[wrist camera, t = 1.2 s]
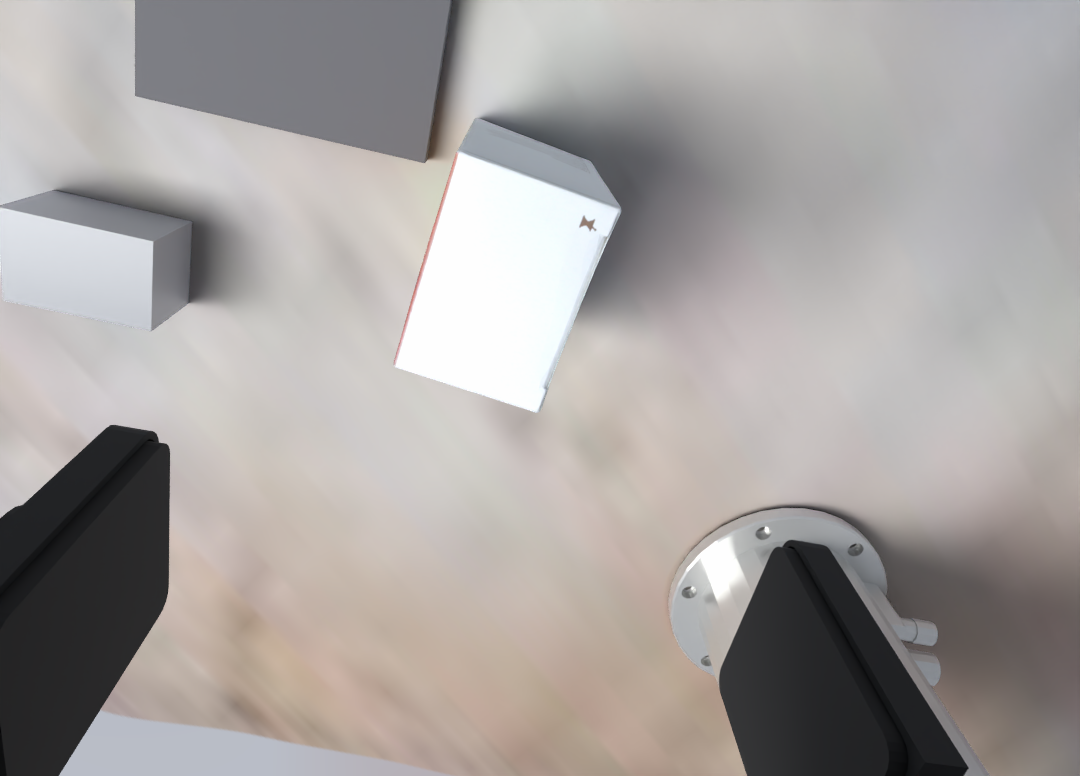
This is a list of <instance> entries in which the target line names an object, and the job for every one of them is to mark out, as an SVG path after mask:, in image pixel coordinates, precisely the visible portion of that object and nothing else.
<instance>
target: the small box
mask: <svg viewBox="0 0 1080 776" xmlns="http://www.w3.org/2000/svg"><path fill="white" fill-rule="evenodd" d="M620 214H621V207H620V205H619V204H618V203H617V201H616V199H615V198H614V196H613V195H612V193H611V192H610V190H609V189H608V187H607V186H606V184H605V183H604V181H603V180H602V178H601V177H600V175H599V173H598V172H597V170H596V169H595V167H594V165H593V164H592V162H591V161H590V160H587V159H584V158H581V157H578V156H576V155H573V154H570V153H568V152H565V151H563V150H560V149H558V148H555V147H553V146H550V145H547V144H545V143H542V142H539V141H537V140H534V139H531V138H529V137H526V136H523V135H521V134H518V133H516V132H513V131H511V130H508V129H505V128H503V127H500V126H497V125H495V124H492V123H490V122H487V121H484V120H482V119H479V118H476V119H474V121H473V123H472V125H471V127H470V128H469V130H468V132H467V134H466V136H465V138H464V140H463V142H462V144H461V146H460V147H459V149H458V151H457V152H456V155H455V159H454V162H453V165H452V169H451V172H450V175H449V178H448V182H447V185H446V188H445V191H444V194H443V198H442V201H441V204H440V207H439V211H438V214H437V217H436V220H435V223H434V226H433V229H432V233H431V236H430V239H429V242H428V246H427V249H426V252H425V256H424V259H423V262H422V266H421V269H420V272H419V276H418V279H417V283H416V286H415V290H414V293H413V297H412V300H411V304H410V307H409V311H408V314H407V318H406V321H405V325H404V329H403V332H402V336H401V339H400V343H399V346H398V350H397V353H396V357H395V360H394V364H393V365H394V367H396V368H399V369H402V370H405V371H408V372H411V373H414V374H417V375H421V376H424V377H427V378H430V379H433V380H436V381H439V382H442V383H445V384H448V385H452V386H455V387H458V388H461V389H464V390H467V391H470V392H473V393H476V394H480V395H483V396H486V397H489V398H492V399H495V400H498V401H501V402H504V403H508V404H511V405H514V406H517V407H520V408H523V409H526V410H529V411H532V412H536V413H537V412H539V411H540V410H541V408H542V406H543V403H544V399H545V396H546V393H547V390H548V388H549V385H550V382H551V379H552V376H553V374H554V371H555V368H556V366H557V363H558V361H559V358H560V356H561V353H562V351H563V348H564V346H565V343H566V341H567V338H568V336H569V333H570V331H571V328H572V326H573V323H574V321H575V318H576V316H577V313H578V311H579V308H580V306H581V303H582V301H583V299H584V296H585V294H586V291H587V289H588V286H589V284H590V282H591V279H592V277H593V274H594V272H595V269H596V267H597V265H598V262H599V260H600V258H601V255H602V253H603V251H604V248H605V246H606V244H607V242H608V240H609V238H610V236H611V233H612V231H613V229H614V227H615V225H616V223H617V220H618V218H619V216H620Z"/></svg>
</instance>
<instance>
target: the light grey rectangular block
mask: <svg viewBox="0 0 1080 776" xmlns="http://www.w3.org/2000/svg"><path fill="white" fill-rule="evenodd" d="M191 241H192V221H188V220H184V219H179V218H175V217H170V216H166V215H162V214H157V213H153V212H148V211H144V210H139V209H135V208H131V207H126V206H122V205H117V204H113V203H109V202H104V201H100V200H95V199H91V198H86V197H82V196H78V195H73V194H69V193H64V192H60V191H56V190H52V191H49V192H45V193H42V194H38V195H35V196H32V197H28V198H25V199H21V200H18V201H14V202H11V203H7V204H4V205H1V206H0V266H1V281H2V296H3V301H7V302H12V303H17V304H22V305H27V306H31V307H36V308H41V309H46V310H51V311H56V312H60V313H65V314H70V315H75V316H80V317H84V318H89V319H94V320H99V321H104V322H109V323H113V324H118V325H123V326H128V327H133V328H138V329H142V330H147V331H152V330H154V329H155V328H156V327H158V326H159V325H160V324H162V323H163V322H164V321H166V320H167V319H168V318H170V317H171V316H172V315H174V314H175V313H176V312H178V311H179V310H180V309H182V308H183V307H184V306H186V305H187V304H188V303H189V284H190V263H191Z"/></svg>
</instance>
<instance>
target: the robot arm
mask: <svg viewBox="0 0 1080 776" xmlns="http://www.w3.org/2000/svg"><path fill="white" fill-rule="evenodd" d="M169 497H170V449H169V446H168V445H167V444H164V443H159V441H158V437H157V434H156V433H155V432H153V431H147V430H141V429H135V428H130V427H124V426H118V425H110V426H109V427H107V428H106V429H105V430H104V431H103V432H102V433H100V434H99V435H98V436H97V437H96V438H95V439H94V440H93V441H92V442H91V443H90V444H89V445H87V446H86V447H85V448H84V449H83V450H82V451H81V452H80V453H79V454H78V455H77V456H76V457H74V458H73V459H72V460H71V461H70V462H69V463H68V464H67V465H66V466H65V467H64V468H62V469H61V470H60V471H59V472H58V473H57V474H56V475H55V476H54V477H53V478H52V479H51V480H49V481H48V482H47V483H46V484H45V485H44V486H43V487H42V488H41V489H40V490H39V491H38V492H36V493H35V494H34V495H33V496H32V497H31V498H30V499H29V500H28V501H27V502H26V503H25V504H23V505H21V506H17V507H15V508H13V509H12V510H10V511H9V512H7V513H6V514H5V515H4V516H3V517H1V518H0V776H59V774H60V773H61V771H62V770H63V768H64V766H65V765H66V763H67V762H68V760H69V758H70V757H71V755H72V754H73V752H74V750H75V749H76V747H77V746H78V744H79V742H80V741H81V739H82V737H83V736H84V735H85V733H86V731H87V730H88V728H89V727H90V725H91V723H92V722H93V720H94V719H95V717H96V715H97V714H98V712H99V711H100V709H101V708H102V706H103V704H104V703H105V701H106V700H107V698H108V696H109V695H110V693H111V692H112V690H113V688H114V687H115V685H116V684H117V682H118V681H119V679H120V677H121V676H122V674H123V673H124V671H125V669H126V668H127V666H128V665H129V663H130V661H131V660H132V658H133V657H134V655H135V653H136V652H137V650H138V649H139V647H140V646H141V644H142V642H143V641H144V639H145V638H146V636H147V634H148V633H149V631H150V630H151V628H152V626H153V625H154V623H155V622H156V620H157V619H158V617H159V615H160V614H161V612H162V610H163V607H164V605H165V602H166V599H167V594H168V587H169ZM886 596H887V579H886V571H885V569H884V566H883V564H882V561H881V559H880V556H879V555H878V554H877V552H876V551H875V549H874V548H873V546H872V545H871V544H870V542H869V541H868V540H867V539H866V538H865V537H864V535H863V534H862V533H861V532H860V531H859V530H858V529H857V528H855V527H854V526H852V525H850V524H849V523H847V522H846V521H844V520H843V519H841V518H838V517H836V516H833V515H830V514H828V513H825V512H821V511H816V510H810V509H805V508H780V509H773V510H766V511H760V512H757V513H754V514H750V515H747V516H744V517H741V518H738V519H736V520H734V521H732V522H730V523H728V524H726V525H724V526H722V527H720V528H719V529H717V530H716V531H714V532H713V533H711V534H710V535H709V536H707V537H706V538H704V539H703V540H702V541H701V542H700V543H699V544H698V545H697V546H696V547H695V548H694V549H693V550H692V551H691V552H690V553H689V554H688V555H687V557H686V558H685V560H684V561H683V562H682V564H681V565H680V567H679V568H678V570H677V573H676V575H675V577H674V579H673V582H672V584H671V589H670V594H669V599H668V608H669V618H670V622H671V626H672V630H673V634H674V636H675V638H676V640H677V643H678V645H679V647H680V648H681V650H682V651H683V652H684V654H685V655H686V656H687V657H688V659H689V660H690V661H692V662H693V663H694V664H695V665H696V666H697V667H699V668H700V669H701V670H703V671H705V672H707V673H709V674H711V675H713V676H715V677H716V680H717V683H718V686H719V690H720V693H721V696H722V699H723V702H724V705H725V708H726V711H727V715H728V718H729V721H730V724H731V727H732V730H733V733H734V736H735V739H736V743H737V746H738V749H739V752H740V755H741V758H742V761H743V764H744V767H745V771H746V774H747V776H990V775H989V773H988V772H987V770H986V769H985V767H984V766H983V764H982V763H981V761H980V760H979V758H978V757H977V755H976V753H975V752H974V750H973V749H972V747H971V746H970V744H969V743H968V741H967V740H966V738H965V737H964V735H963V734H962V732H961V731H960V729H959V728H958V726H957V725H956V723H955V722H954V720H953V719H952V717H951V716H950V714H949V712H948V711H947V709H946V708H945V706H944V705H943V703H942V702H941V700H940V699H939V697H938V696H937V694H936V693H935V691H934V690H933V688H932V687H931V686H935V685H936V684H937V682H938V681H939V678H940V674H941V670H940V663H939V661H938V659H937V657H936V656H935V655H934V654H933V653H931V652H925V651H919V650H913V649H907V648H906V647H905V646H904V644H903V643H902V641H907V642H908V643H913V644H919V645H925V646H933V645H934V644H935V643H936V641H937V638H938V630H937V628H936V625H935V624H934V623H933V622H931V621H926V620H920V619H914V618H901V617H899V615H898V614H897V613H896V612H895V610H894V609H893V607H892V606H891V604H890V603H889V602H888V600H887V599H886ZM901 640H902V641H901Z"/></svg>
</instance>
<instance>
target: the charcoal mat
mask: <svg viewBox="0 0 1080 776" xmlns="http://www.w3.org/2000/svg"><path fill="white" fill-rule="evenodd" d="M452 2H453V0H135V96H137V97H142V98H146V99H150V100H155V101H159V102H163V103H168V104H172V105H176V106H180V107H185V108H189V109H193V110H198V111H202V112H206V113H211V114H215V115H219V116H224V117H228V118H232V119H237V120H241V121H245V122H250V123H254V124H258V125H262V126H267V127H271V128H275V129H280V130H284V131H288V132H293V133H297V134H301V135H306V136H310V137H314V138H319V139H323V140H327V141H331V142H336V143H340V144H344V145H349V146H353V147H357V148H362V149H366V150H370V151H375V152H379V153H383V154H388V155H392V156H396V157H400V158H405V159H409V160H413V161H418V162H422V163H425V162H426V161H427V158H428V152H429V146H430V140H431V133H432V127H433V121H434V115H435V108H436V102H437V96H438V90H439V83H440V77H441V71H442V65H443V58H444V52H445V46H446V40H447V33H448V27H449V21H450V14H451V8H452Z"/></svg>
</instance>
